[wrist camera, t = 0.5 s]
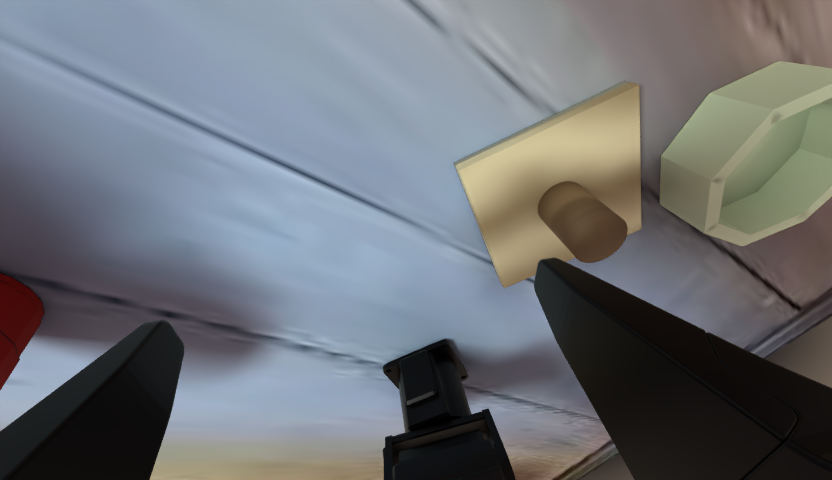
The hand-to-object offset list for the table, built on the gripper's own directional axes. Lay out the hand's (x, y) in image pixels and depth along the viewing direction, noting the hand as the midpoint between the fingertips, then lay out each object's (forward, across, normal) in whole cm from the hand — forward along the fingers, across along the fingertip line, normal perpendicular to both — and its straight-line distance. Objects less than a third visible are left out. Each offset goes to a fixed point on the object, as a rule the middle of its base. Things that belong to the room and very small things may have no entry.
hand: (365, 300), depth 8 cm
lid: (+13, -13, +6) cm, 19 cm away
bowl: (+13, -26, +4) cm, 30 cm away
